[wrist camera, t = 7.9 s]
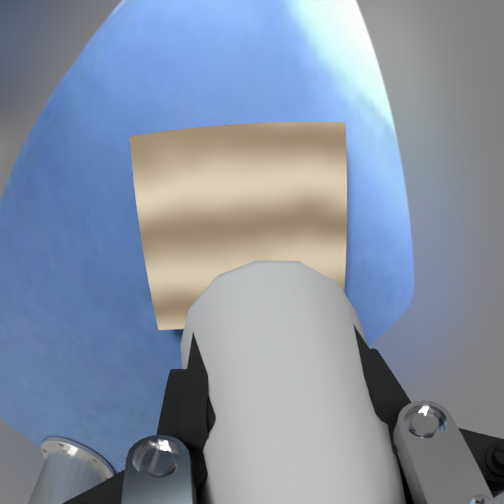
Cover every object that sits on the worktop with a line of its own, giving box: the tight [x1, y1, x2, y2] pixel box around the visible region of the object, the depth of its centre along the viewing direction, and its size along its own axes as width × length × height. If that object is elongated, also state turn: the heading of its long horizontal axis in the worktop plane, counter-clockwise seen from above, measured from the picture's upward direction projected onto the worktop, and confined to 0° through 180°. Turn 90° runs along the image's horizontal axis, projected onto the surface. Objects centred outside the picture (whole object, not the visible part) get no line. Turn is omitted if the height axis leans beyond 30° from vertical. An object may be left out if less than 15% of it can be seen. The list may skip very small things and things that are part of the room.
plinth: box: [130, 122, 347, 330], centre depth 26 cm, size 16×16×3 cm
